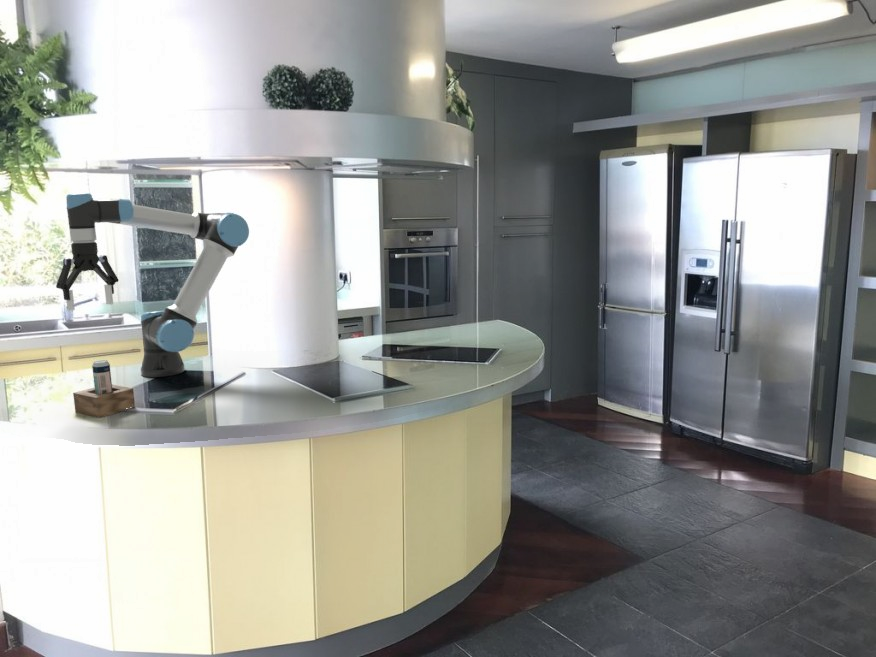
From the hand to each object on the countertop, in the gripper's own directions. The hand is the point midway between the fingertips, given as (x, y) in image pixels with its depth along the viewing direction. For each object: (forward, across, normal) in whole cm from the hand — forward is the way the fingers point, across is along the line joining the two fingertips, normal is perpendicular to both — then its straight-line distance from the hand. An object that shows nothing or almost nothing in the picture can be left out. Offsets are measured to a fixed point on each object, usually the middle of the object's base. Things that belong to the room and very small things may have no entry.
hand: (90, 307), depth 235 cm
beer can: (+26, +12, +21) cm, 35 cm away
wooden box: (+29, +12, +21) cm, 38 cm away
